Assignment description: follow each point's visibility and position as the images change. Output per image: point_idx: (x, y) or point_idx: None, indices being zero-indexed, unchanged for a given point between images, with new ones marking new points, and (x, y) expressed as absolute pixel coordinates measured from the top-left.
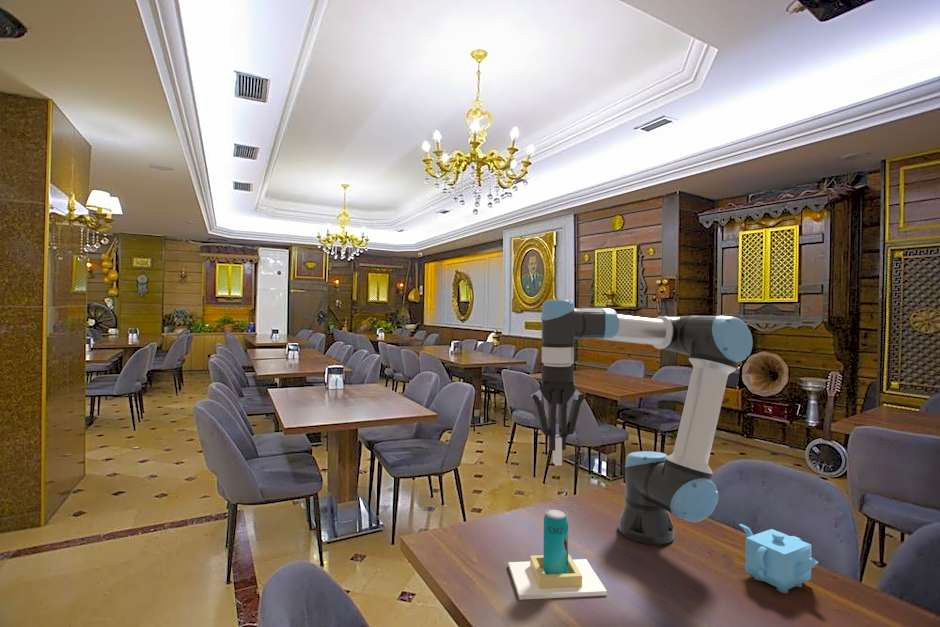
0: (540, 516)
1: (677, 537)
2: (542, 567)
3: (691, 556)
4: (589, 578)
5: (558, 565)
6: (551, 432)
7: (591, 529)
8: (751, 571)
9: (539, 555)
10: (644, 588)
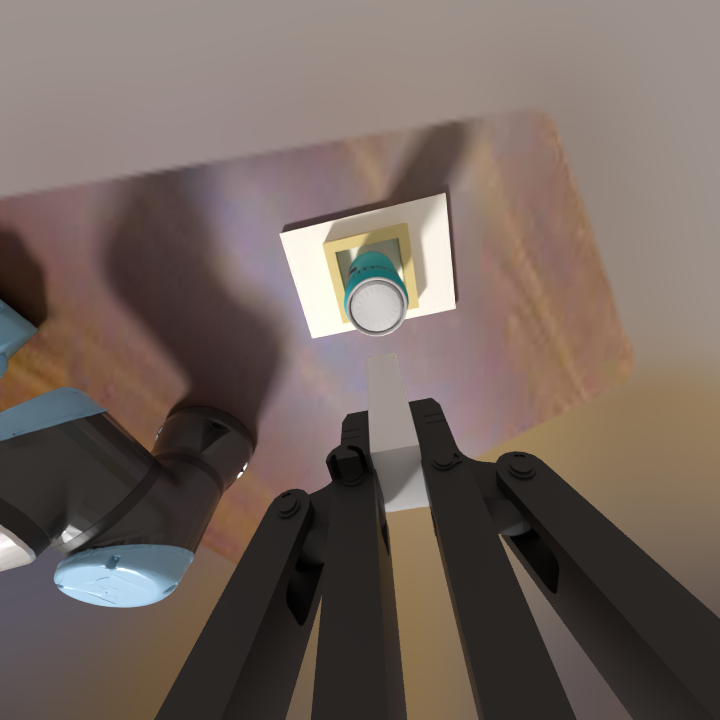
0: None
1: None
2: None
3: (135, 379)
4: (309, 273)
5: (368, 254)
6: (466, 476)
7: (299, 441)
8: (22, 323)
9: None
10: (214, 267)
